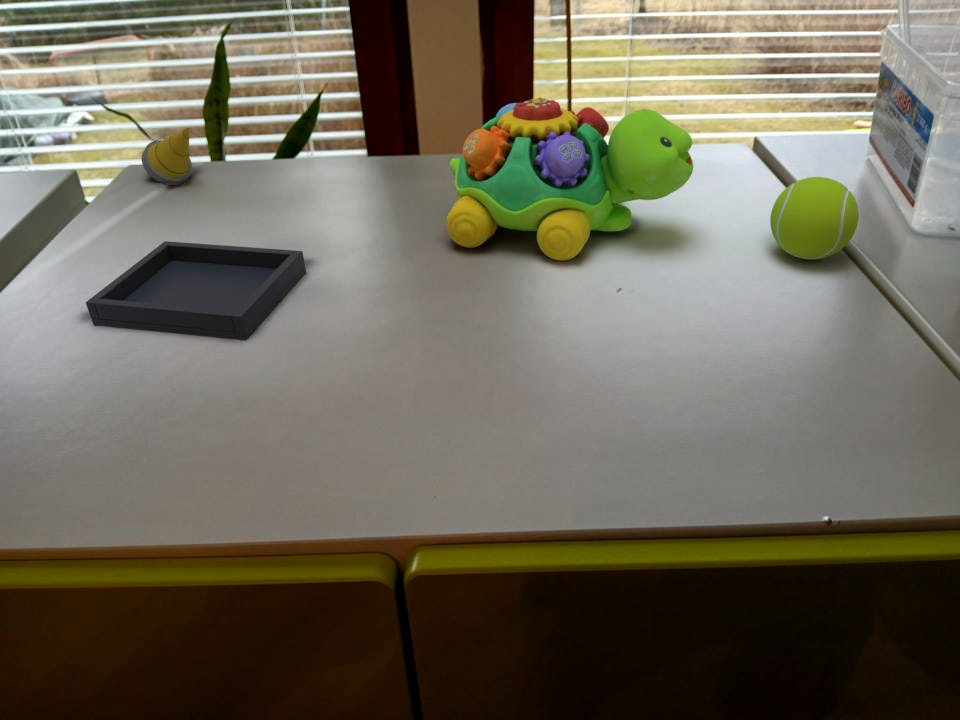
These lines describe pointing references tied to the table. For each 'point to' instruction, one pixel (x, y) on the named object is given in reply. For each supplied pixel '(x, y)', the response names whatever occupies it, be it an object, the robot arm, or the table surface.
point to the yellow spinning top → (169, 159)
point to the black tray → (199, 289)
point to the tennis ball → (814, 218)
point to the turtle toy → (562, 173)
